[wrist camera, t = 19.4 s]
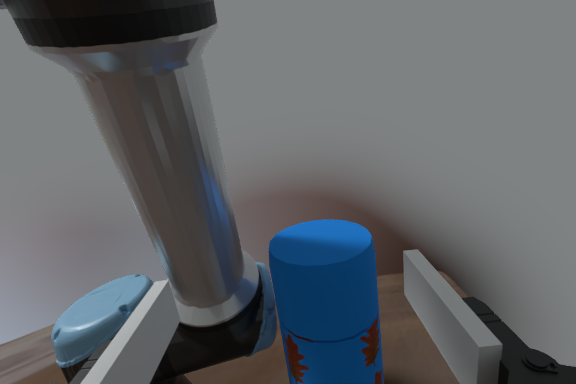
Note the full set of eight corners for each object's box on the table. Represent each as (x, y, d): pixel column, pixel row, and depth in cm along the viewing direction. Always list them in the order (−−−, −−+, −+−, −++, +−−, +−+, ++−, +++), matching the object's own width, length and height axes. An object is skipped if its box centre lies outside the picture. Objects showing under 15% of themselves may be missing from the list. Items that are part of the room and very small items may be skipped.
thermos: (281, 422, 38) (246, 245, 31) (336, 368, 44) (317, 213, 38) (348, 498, 30) (321, 281, 23) (404, 420, 36) (395, 232, 29)
